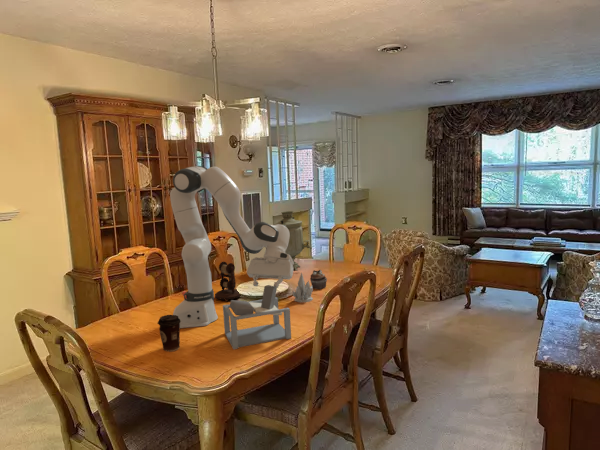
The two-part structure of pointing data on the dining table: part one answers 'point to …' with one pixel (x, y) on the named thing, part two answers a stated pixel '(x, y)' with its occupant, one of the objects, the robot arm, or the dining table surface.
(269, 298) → the stone
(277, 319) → the frame
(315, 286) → the cupcake
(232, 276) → the coffee pod holder
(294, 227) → the samovar
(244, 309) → the trapdoor
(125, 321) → the dining table surface
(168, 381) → the dining table surface
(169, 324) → the coffee cup
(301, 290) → the crystal
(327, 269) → the dining table surface
